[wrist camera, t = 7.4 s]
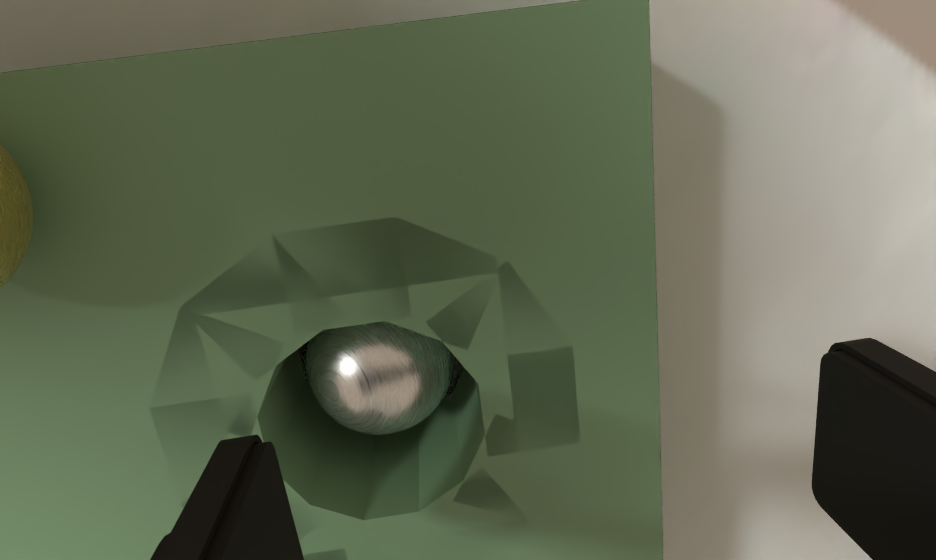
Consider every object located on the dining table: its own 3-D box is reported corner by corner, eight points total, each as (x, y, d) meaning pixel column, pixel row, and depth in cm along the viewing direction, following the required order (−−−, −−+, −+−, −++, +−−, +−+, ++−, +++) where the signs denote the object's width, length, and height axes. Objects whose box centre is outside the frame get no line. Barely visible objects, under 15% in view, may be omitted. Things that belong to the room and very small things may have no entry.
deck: (-301, 130, 13) (-593, 146, 9) (585, 19, 14) (648, -8, 10) (-40, 642, 18) (-164, 791, 14) (615, 537, 19) (665, 651, 15)
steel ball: (359, 271, 16) (256, 314, 13) (467, 266, 14) (374, 314, 12) (385, 389, 17) (294, 452, 14) (491, 399, 15) (410, 474, 12)
